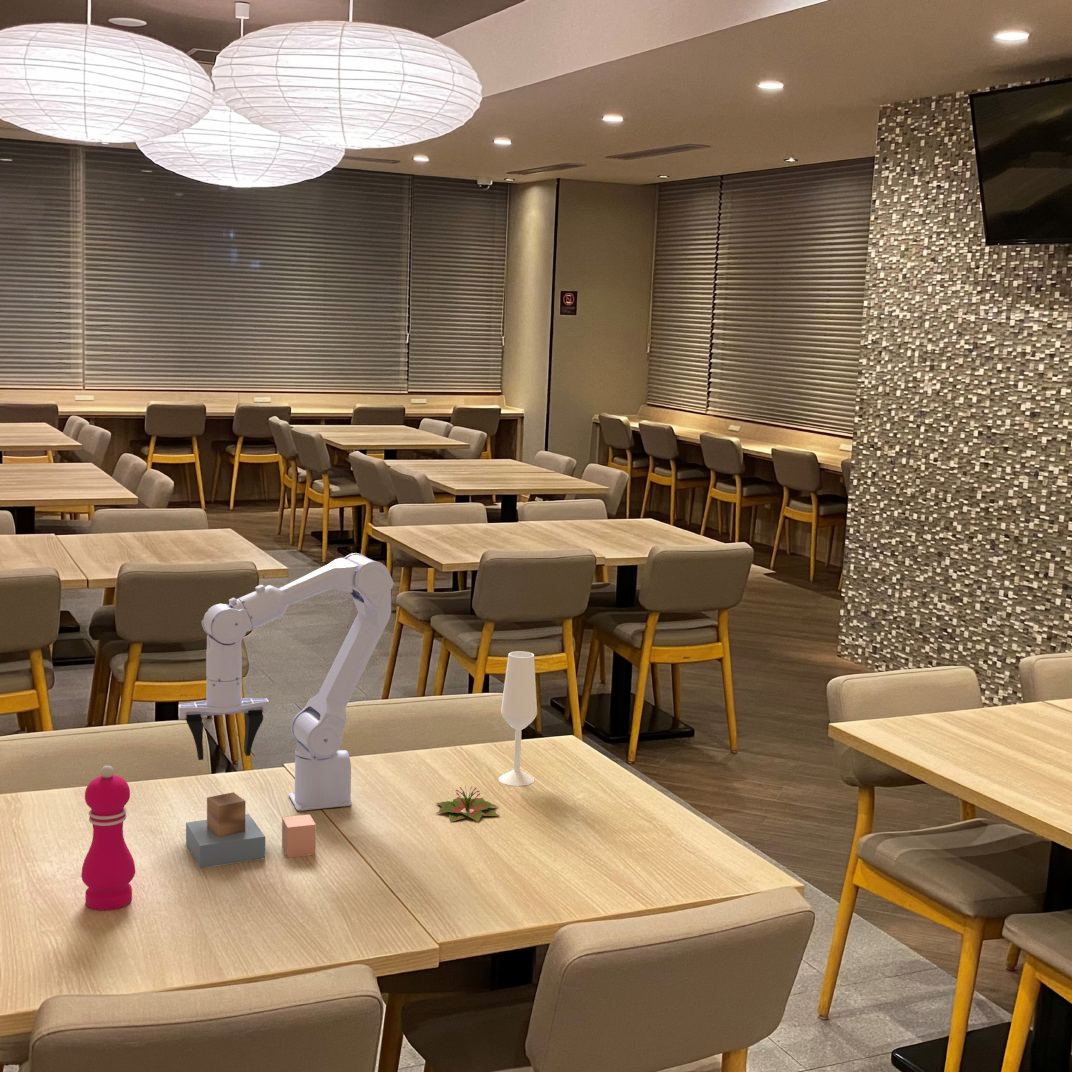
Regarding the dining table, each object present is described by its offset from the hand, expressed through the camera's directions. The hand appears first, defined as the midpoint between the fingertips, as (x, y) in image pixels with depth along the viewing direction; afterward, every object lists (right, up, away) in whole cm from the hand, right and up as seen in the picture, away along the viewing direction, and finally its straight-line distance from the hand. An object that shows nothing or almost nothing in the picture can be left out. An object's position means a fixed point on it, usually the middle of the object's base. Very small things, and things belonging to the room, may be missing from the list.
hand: (223, 756), depth 209 cm
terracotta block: (+15, -13, -11) cm, 23 cm away
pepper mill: (-9, -15, -32) cm, 36 cm away
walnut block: (+4, -9, -13) cm, 17 cm away
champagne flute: (+48, -9, +25) cm, 55 cm away
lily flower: (+40, -12, +8) cm, 43 cm away
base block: (+3, -13, -13) cm, 19 cm away
